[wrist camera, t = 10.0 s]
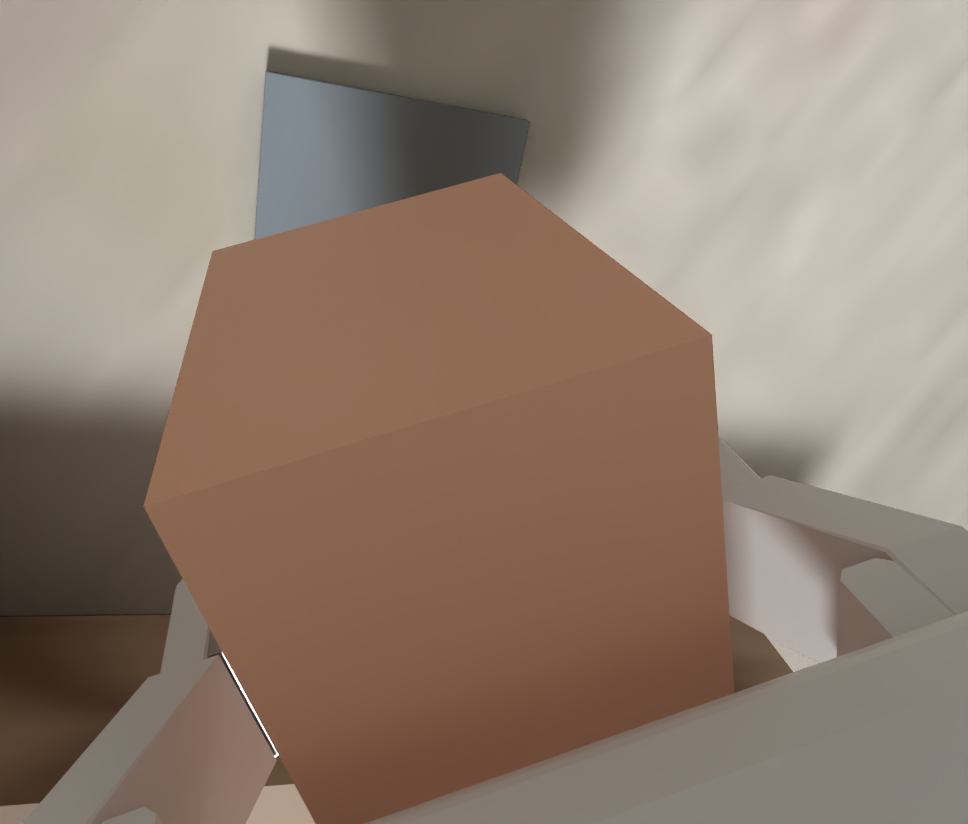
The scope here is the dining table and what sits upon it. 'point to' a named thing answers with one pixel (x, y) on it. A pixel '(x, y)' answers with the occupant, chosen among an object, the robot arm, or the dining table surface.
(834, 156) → the dining table surface
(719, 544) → the block
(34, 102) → the dining table surface
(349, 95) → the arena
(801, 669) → the robot arm
